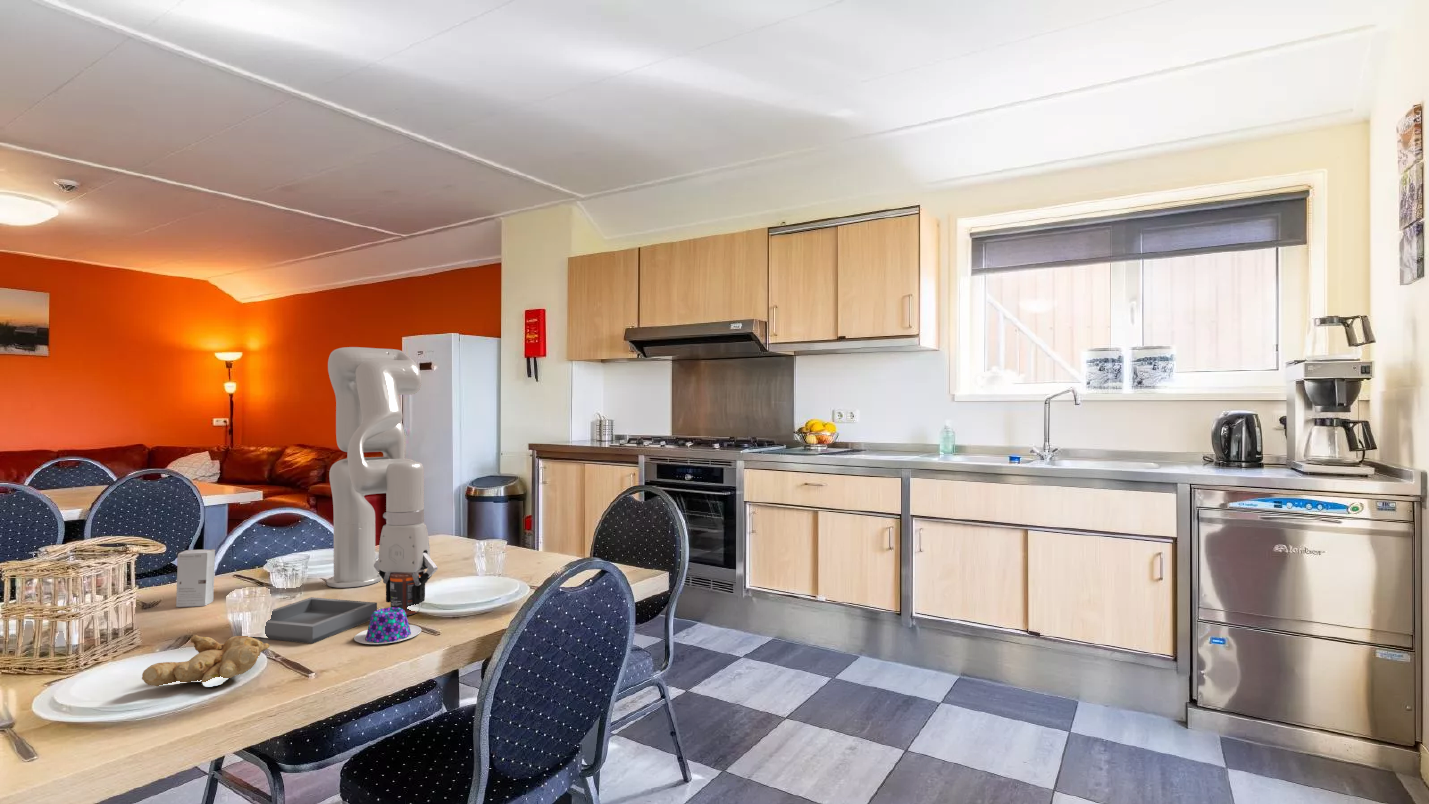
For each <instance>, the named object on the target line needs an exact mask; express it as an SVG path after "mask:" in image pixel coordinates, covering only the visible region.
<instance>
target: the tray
mask: <svg viewBox="0 0 1429 804" xmlns="http://www.w3.org/2000/svg"><path fill="white" fill-rule="evenodd" d="M272 610H273V611H272V615H271V619H270V620H268V621H267V622H266V626H265V634H266V636H267V637H268V638H269V639H268V640H271V641H272V640H274V641H285V642H291V643H292V642H295V643H303V644H315V643H317V642H320V641H323V640H325V639H327V638H328V639H329V638H330V637H332V636H334V635H338V634H340V633H343V632H346V631H347V630H350V629H352V628H353V629H354V627H355V628H356V627H357V626H360V625H363V624H366V623H367V622H368V623H369V622H370V619H371V615H372V613H373V612H374V611H377V610H378V603H377V602H373V601H361V600H348V599H335V598H324V597H323V598H322V597H314V596H313V597H308V598H305V599H302V600H299V601H296V602H293V603H289V604H287V605H284V606H280V607H277V608H274V609H272Z"/></svg>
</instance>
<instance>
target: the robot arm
mask: <svg viewBox="0 0 1429 804" xmlns="http://www.w3.org/2000/svg"><path fill="white" fill-rule="evenodd" d="M327 372H328V375H329V376H328V377H329V380H330V383H331V386H332V389H333V392H334V395H335V402H336V404H335V405H336V406H335V410H336V411H335V435H336V444H337V447H338V449H339V450H341V452H345V453H347V454H346V455H347V457H346V458H343V459H340V460H338V461H336V462H334V463H333V464H332V465H331V466H330V469H329V473H328V474H329V484H330V489H331V495H332V505H333V506H332V507H333V508H332V509H333V575H332V576H330V577H329V578H327V579H326V585H327V587H330V588H337V589H338V588H341V589H342V588H345V589H346V588H355V587H363V586H368V585H373V584H376V583H378V582H379V583H380V581H382V582H383V584H385V602H386V603H391V601H390V599H391V598H390V575H391V573H407V574H412V577H413V580H414V583H415V585H414V586H413V587H412V603H413V604H415V605H416V604H419V603H420V604H421V603H423V602H425V599H426V598H425V597H426V584H427V583H428V582H429V580H430V578H432V576H433V575H434V574H435V573H436V572H437V571H438V569H439V567H438V566H437V564H436V563H435V562H434V560H432V558H431V549H430V547H431V546H430V538H429V537H430V536H429V532H428V528H427V524H426V523H425V504H424V503H425V493H424V492H425V467H424V465H423V463H422V462H419V461H415V460H414V459H413V458H412V459H411V458H405V457H406V454H405V453H406V450H405V448H406V447H405V446H406V445H405V442H406V441H405V440H406V439H405V438H406V437H405V429H404V425H403V423H402V421H403V417H404V416H403V411H402V406H401V401H400V396H399V395H402V396H406V395H407V396H409V395H410V396H412V395H415V394H417V393H419V391H420V389H421V386H422V375H421V371H420V368H419V366H418V364H417V362H416V361H414V359H413V358H411V357H410V356H409V355H407V354H406V352H404V351H402V350H400V349H393V348H378V347H377V348H375V347H359V346H349V347H348V346H347V347H339V348H336V349H333V350H332V351H331V352H330V354H329V357H328V360H327ZM379 452H381V453H382V454H383V455H382V456H375V457H374V456H371V457H369V456H368V457H367V456H366V457H365V454H364V453H379ZM376 494H386V496H385V497H386V498H385V499H386V503H385V504H386V505H385V507H386V508H385V509H386V510H385V511H386V512H384V513H383V514H382V518H383V519H385V522H386V524H384V525H383V526H382V529H381V533H380V536H379V537H380V538H379V539H380V540H379V544H378V547H379V548H378V559H377V560H376V511H375V509H374V507H373V505H372V504H371V503H370V502H369V501H368V500H367V498H365V496H368V495H376ZM418 573H419V574H418ZM419 575H420V577H419Z"/></svg>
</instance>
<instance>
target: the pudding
mask: <svg viewBox="0 0 1429 804" xmlns="http://www.w3.org/2000/svg"><path fill="white" fill-rule="evenodd" d="M421 632H422V628H421V627H420V626H418V625H415V624H409V620H408V617H407V616H406V612H405V611H404V610H403V609H401V608H399V607H395V608H394V607H391V606H389V607H385V608H379V609H377V611H374V612H373V613H372V615H371V619H370V621H369V622H368V628H367V629H365V630H362V631H360V632H359V633H357V634H356V635H354V637H353V640H354V641H355V642H357V643H360V644H365V645H387V644H392V643H397V642H401V641H407V640H409V639H412V638H414V637H416V636H418V635H419V634H420V633H421Z"/></svg>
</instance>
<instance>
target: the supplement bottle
mask: <svg viewBox="0 0 1429 804" xmlns="http://www.w3.org/2000/svg"><path fill="white" fill-rule="evenodd" d="M418 574H419V573H418ZM419 577H420V575H419ZM414 585H415V583H414V580H413V577H412V574H407V573H391V575H390V598H391V599H390V601H391V602H390V607H394V608H395V607H399V608H401V609H403V610H404V611H405V612H406V616H411V615H415V614H417V613H418V612H415V611H411V610H409V609H407V607H408V606H411V605H414V604H413V603H412V587H413V586H414Z"/></svg>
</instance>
